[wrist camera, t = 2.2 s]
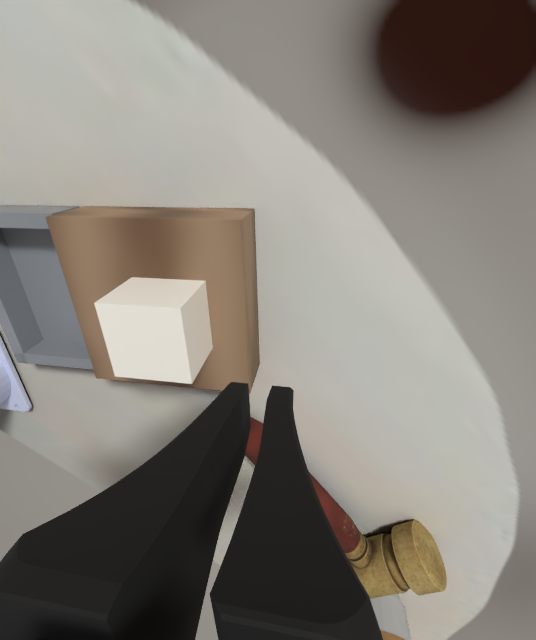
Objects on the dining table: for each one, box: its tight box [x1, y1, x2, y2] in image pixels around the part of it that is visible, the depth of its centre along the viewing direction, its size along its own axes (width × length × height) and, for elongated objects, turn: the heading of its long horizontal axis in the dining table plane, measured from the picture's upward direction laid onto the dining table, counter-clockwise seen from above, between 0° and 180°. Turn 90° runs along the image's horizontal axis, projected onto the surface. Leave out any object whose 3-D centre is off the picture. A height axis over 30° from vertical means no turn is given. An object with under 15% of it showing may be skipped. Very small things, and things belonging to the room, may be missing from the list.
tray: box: [0, 205, 94, 370], centre depth 21 cm, size 6×10×2 cm, turn 0°
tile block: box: [94, 277, 213, 384], centre depth 17 cm, size 4×4×3 cm
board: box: [46, 206, 260, 393], centre depth 20 cm, size 10×10×3 cm
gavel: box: [245, 417, 447, 599], centre depth 26 cm, size 21×5×10 cm
